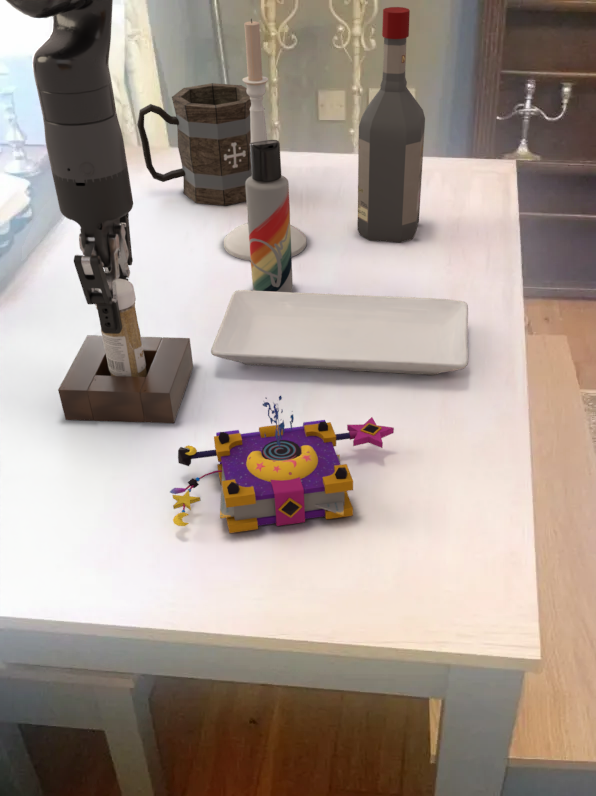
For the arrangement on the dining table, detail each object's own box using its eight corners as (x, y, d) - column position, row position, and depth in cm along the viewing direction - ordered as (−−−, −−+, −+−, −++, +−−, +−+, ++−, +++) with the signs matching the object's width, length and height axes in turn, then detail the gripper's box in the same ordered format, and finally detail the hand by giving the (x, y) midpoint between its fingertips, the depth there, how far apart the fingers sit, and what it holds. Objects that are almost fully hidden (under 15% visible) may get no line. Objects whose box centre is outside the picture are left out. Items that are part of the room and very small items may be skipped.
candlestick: (289, 266, 134) (279, 33, 113) (210, 255, 137) (186, 26, 116) (317, 233, 142) (313, 11, 121) (243, 223, 145) (226, 5, 124)
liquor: (420, 221, 146) (433, 3, 125) (413, 244, 139) (426, 19, 118) (364, 218, 147) (368, 1, 126) (355, 240, 140) (357, 16, 119)
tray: (465, 389, 109) (468, 363, 106) (210, 376, 111) (207, 350, 109) (466, 323, 121) (468, 299, 118) (235, 312, 123) (233, 288, 121)
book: (165, 464, 98) (148, 364, 89) (387, 436, 102) (391, 336, 93) (177, 550, 88) (159, 446, 79) (423, 515, 92) (431, 411, 83)
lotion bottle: (261, 303, 125) (250, 150, 111) (247, 286, 129) (236, 136, 115) (298, 295, 127) (293, 144, 113) (284, 279, 131) (277, 130, 117)
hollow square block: (65, 420, 104) (57, 389, 101) (93, 364, 113) (87, 334, 111) (174, 423, 104) (169, 393, 101) (193, 367, 113) (189, 337, 110)
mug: (258, 175, 161) (252, 81, 150) (264, 203, 151) (259, 105, 141) (147, 181, 159) (134, 86, 148) (147, 210, 149) (132, 111, 139)
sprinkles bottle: (158, 392, 109) (141, 285, 99) (127, 406, 106) (106, 299, 97) (136, 378, 111) (117, 272, 102) (105, 391, 109) (83, 285, 99)
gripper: (71, 138, 95) (101, 291, 107) (30, 188, 85) (68, 351, 97) (141, 140, 95) (163, 293, 107) (108, 190, 85) (136, 353, 97)
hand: (117, 320), depth 102 cm, fingers closed on sprinkles bottle, 4 cm apart
